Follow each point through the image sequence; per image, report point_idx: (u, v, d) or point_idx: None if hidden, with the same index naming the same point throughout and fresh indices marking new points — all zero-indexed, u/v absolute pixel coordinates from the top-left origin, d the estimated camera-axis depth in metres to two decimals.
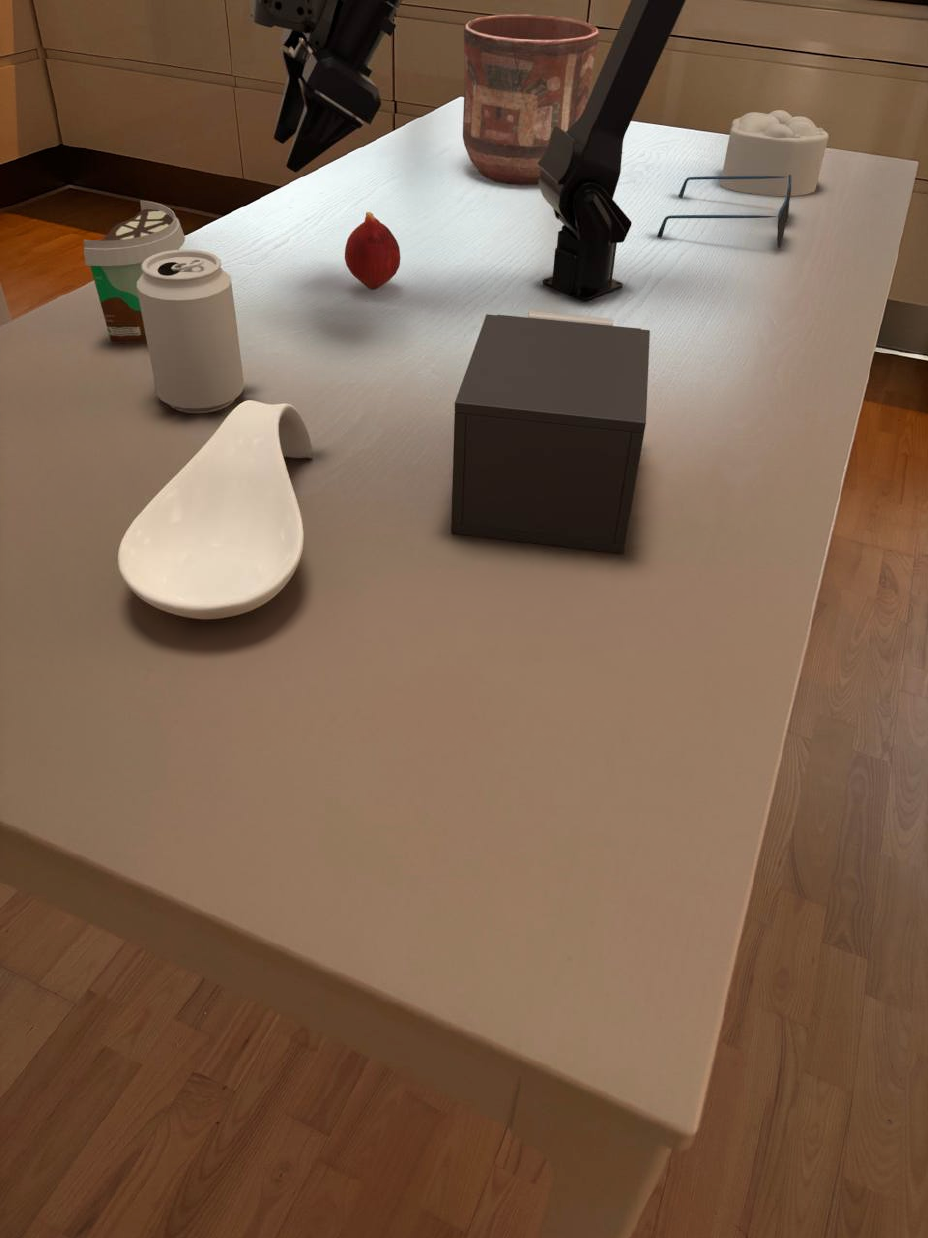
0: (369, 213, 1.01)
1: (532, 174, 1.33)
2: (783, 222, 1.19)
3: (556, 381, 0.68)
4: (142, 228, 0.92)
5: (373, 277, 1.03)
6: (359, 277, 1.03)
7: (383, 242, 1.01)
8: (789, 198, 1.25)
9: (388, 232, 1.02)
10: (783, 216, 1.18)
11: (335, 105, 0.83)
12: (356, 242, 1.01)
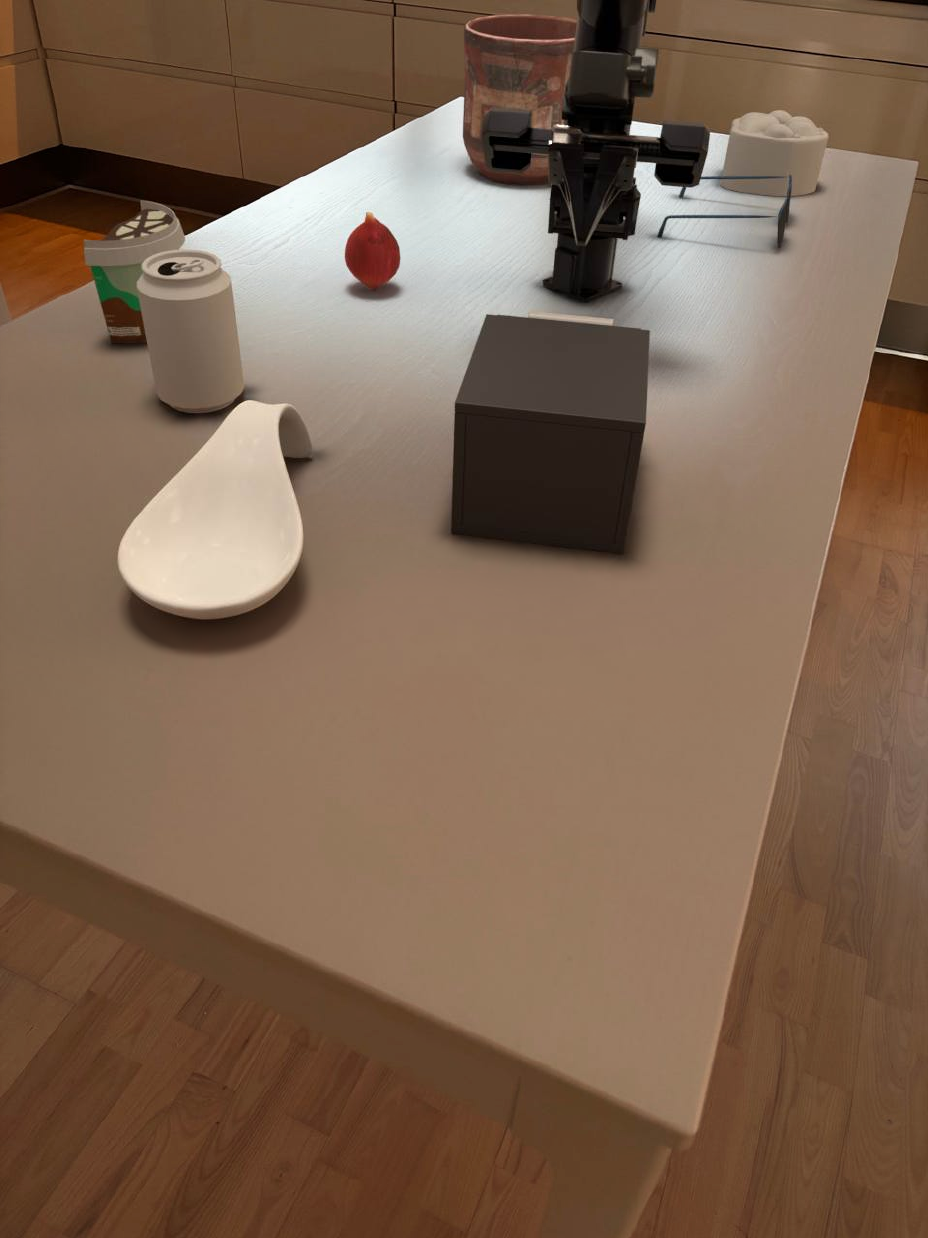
0: (369, 213, 1.01)
1: (532, 174, 1.33)
2: (783, 222, 1.19)
3: (556, 381, 0.68)
4: (142, 228, 0.92)
5: (373, 277, 1.03)
6: (359, 277, 1.03)
7: (383, 242, 1.01)
8: (789, 198, 1.25)
9: (388, 232, 1.02)
10: (783, 216, 1.18)
11: None
12: (356, 242, 1.01)
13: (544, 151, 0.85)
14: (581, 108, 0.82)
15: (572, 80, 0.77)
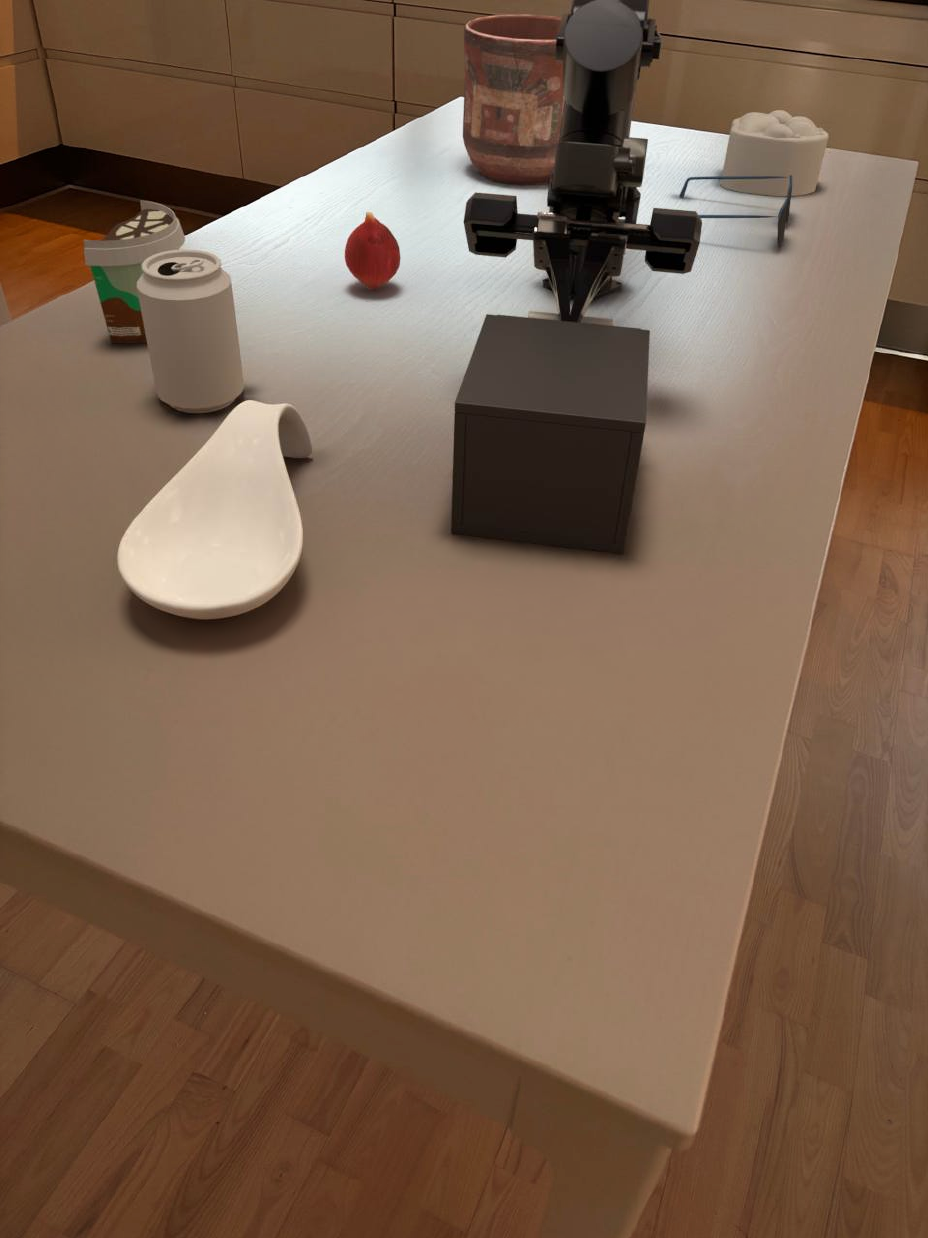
0: (369, 213, 1.01)
1: (532, 174, 1.33)
2: (783, 222, 1.19)
3: (556, 381, 0.68)
4: (142, 228, 0.92)
5: (373, 277, 1.03)
6: (359, 277, 1.03)
7: (383, 242, 1.01)
8: (790, 198, 1.25)
9: (388, 232, 1.02)
10: (783, 216, 1.18)
11: None
12: (356, 242, 1.01)
13: (529, 237, 0.81)
14: (567, 195, 0.78)
15: (557, 171, 0.73)
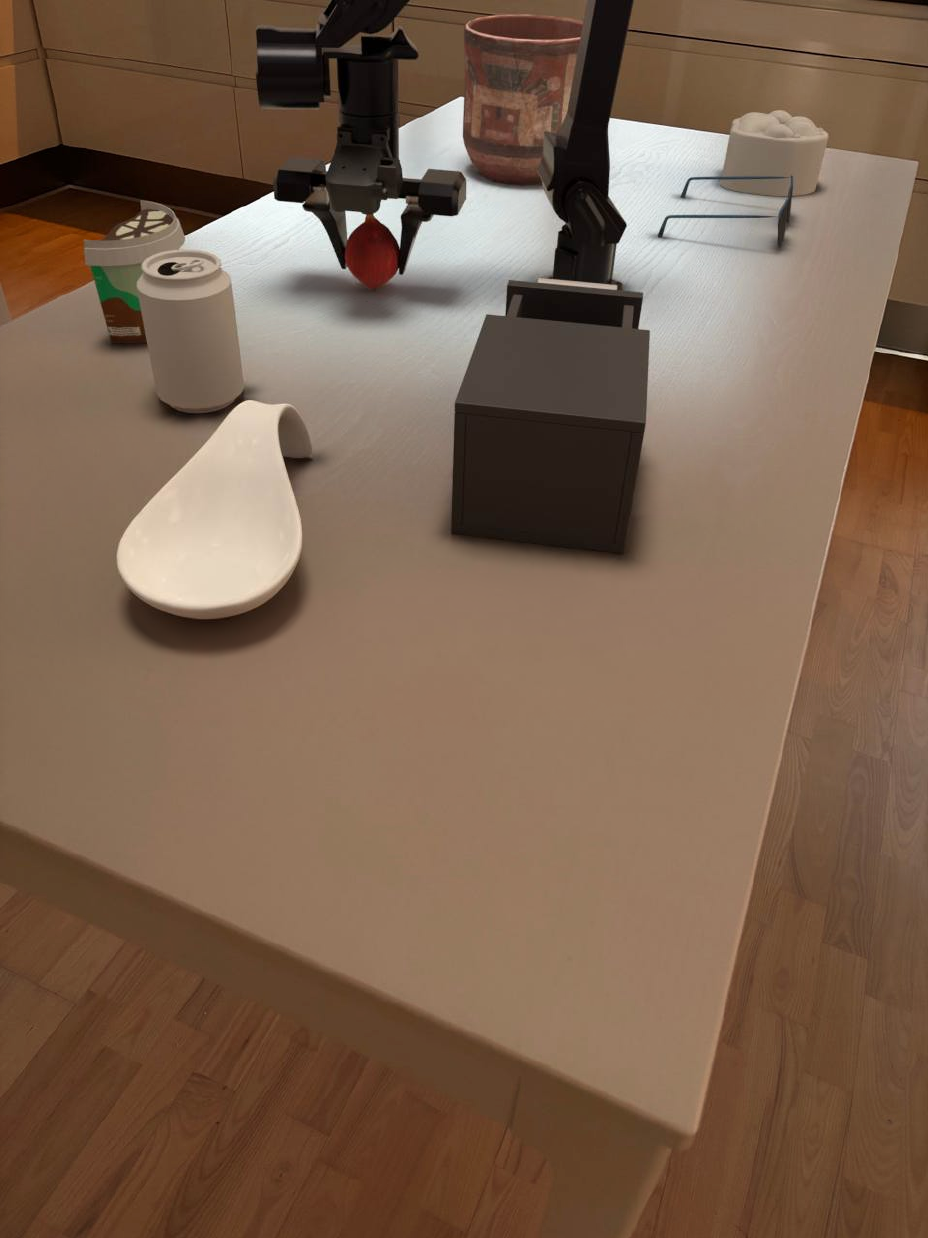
0: None
1: (532, 174, 1.33)
2: (784, 222, 1.19)
3: (556, 381, 0.68)
4: (142, 228, 0.92)
5: (373, 277, 1.03)
6: (359, 277, 1.03)
7: (383, 242, 1.01)
8: (791, 198, 1.25)
9: (389, 232, 1.02)
10: (784, 216, 1.18)
11: None
12: (356, 242, 1.01)
13: None
14: None
15: (330, 200, 0.93)
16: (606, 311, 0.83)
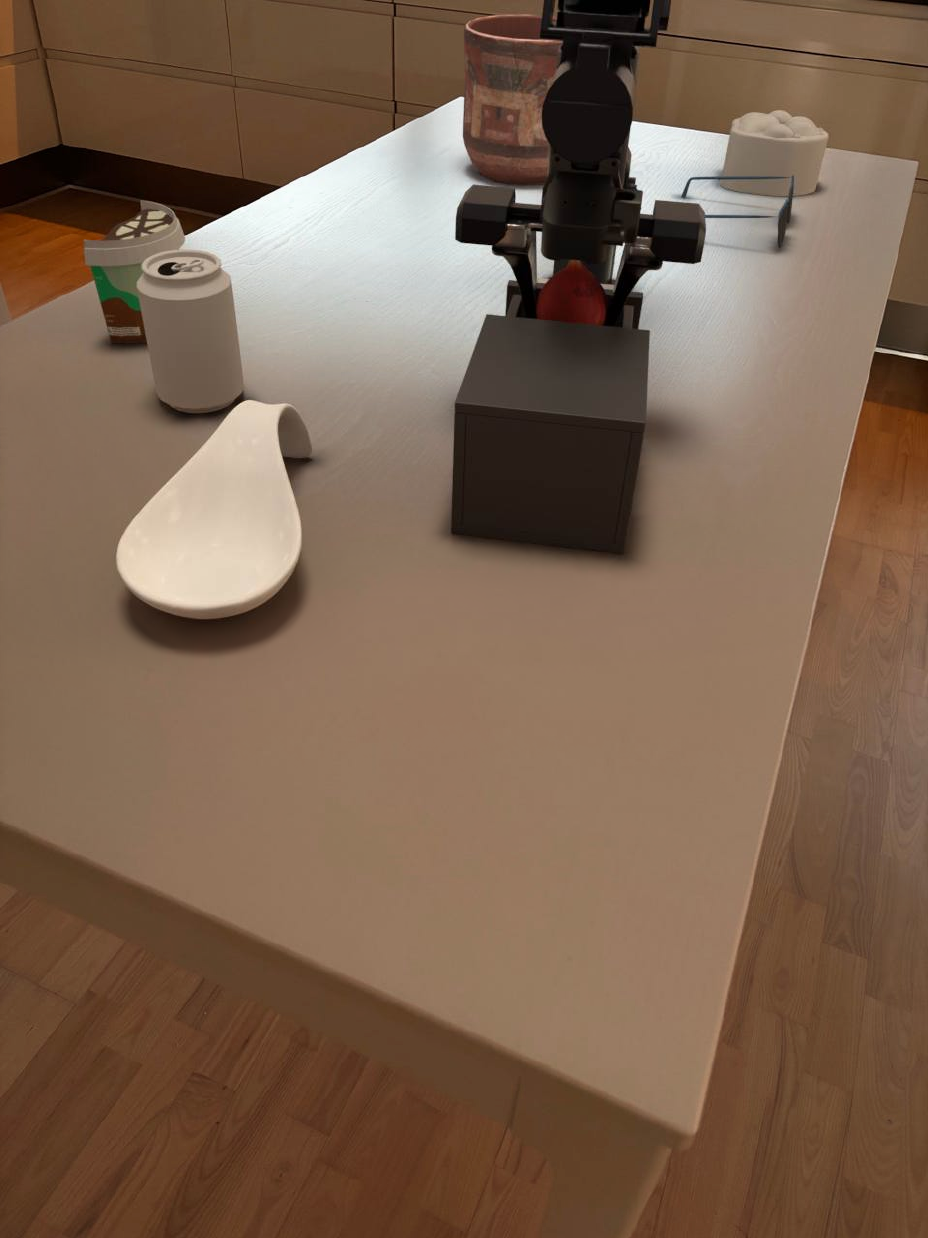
0: None
1: (532, 174, 1.33)
2: (784, 222, 1.19)
3: (556, 381, 0.68)
4: (142, 228, 0.92)
5: None
6: None
7: (592, 295, 0.78)
8: (791, 198, 1.25)
9: (597, 281, 0.79)
10: (784, 216, 1.18)
11: None
12: (557, 295, 0.78)
13: None
14: None
15: (545, 245, 0.70)
16: None
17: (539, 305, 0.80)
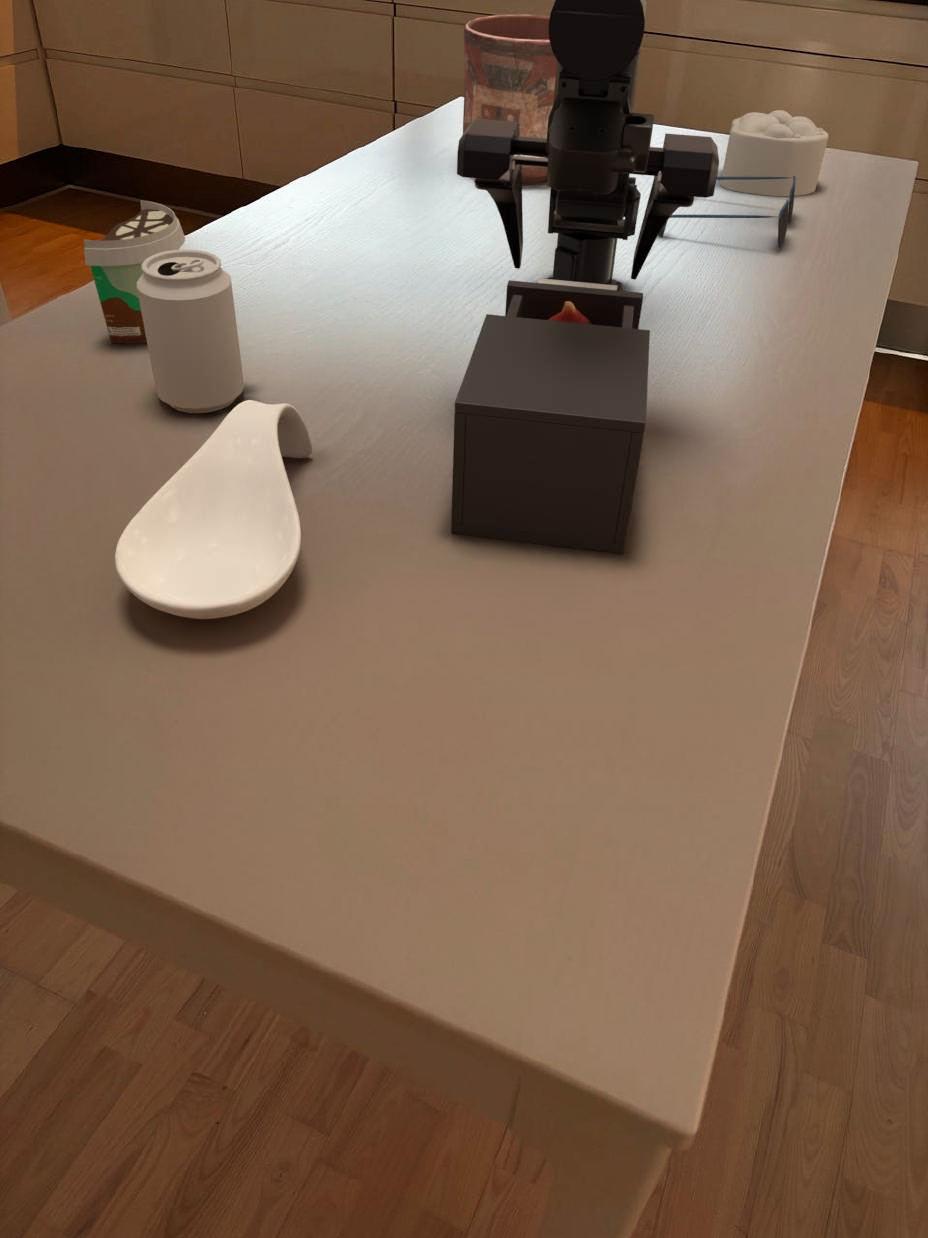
0: (569, 303, 0.80)
1: (532, 174, 1.33)
2: (784, 222, 1.19)
3: (556, 381, 0.68)
4: (142, 228, 0.92)
5: None
6: None
7: None
8: (792, 199, 1.24)
9: None
10: (784, 216, 1.18)
11: None
12: None
13: None
14: None
15: (551, 174, 0.67)
16: (606, 311, 0.83)
17: None
